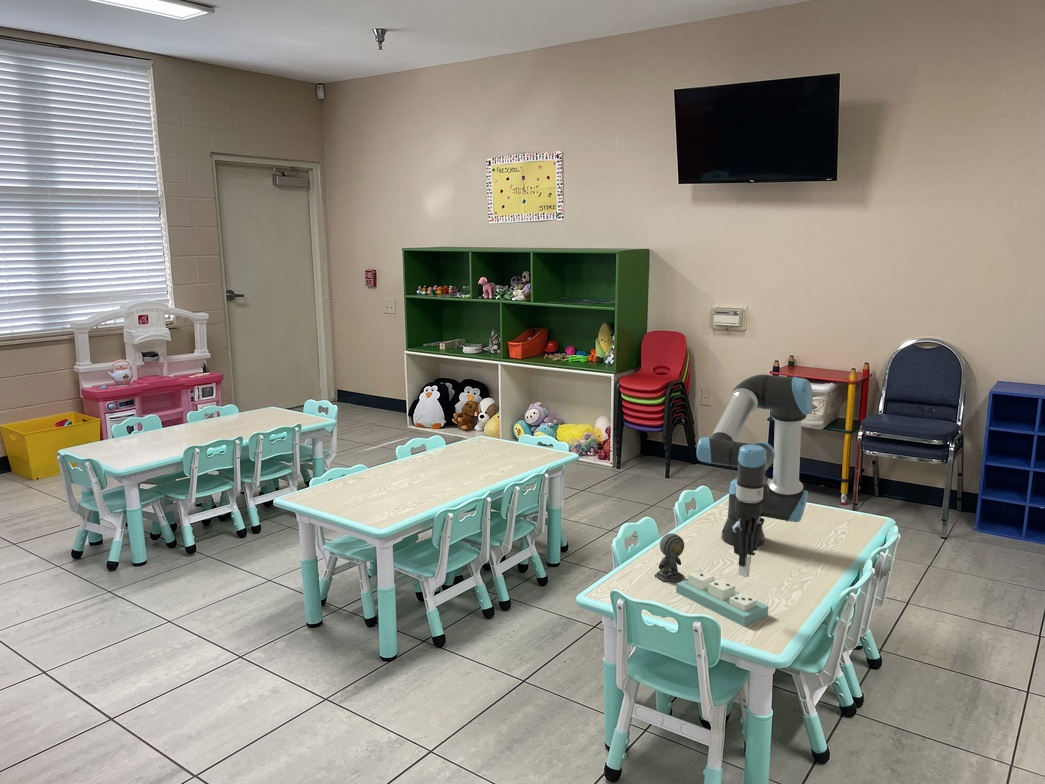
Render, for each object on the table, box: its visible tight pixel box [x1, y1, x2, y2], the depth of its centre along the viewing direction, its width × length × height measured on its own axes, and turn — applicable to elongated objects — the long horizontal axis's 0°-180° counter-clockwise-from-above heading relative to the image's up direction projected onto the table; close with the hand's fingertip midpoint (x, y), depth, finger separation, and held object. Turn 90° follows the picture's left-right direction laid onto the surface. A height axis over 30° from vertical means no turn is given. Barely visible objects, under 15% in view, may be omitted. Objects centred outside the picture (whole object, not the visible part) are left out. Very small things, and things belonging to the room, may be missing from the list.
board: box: [675, 578, 769, 627], centre depth 236 cm, size 26×11×3 cm, turn 36°
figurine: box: [654, 532, 685, 584], centre depth 252 cm, size 9×10×15 cm
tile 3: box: [729, 592, 758, 612], centre depth 229 cm, size 6×6×4 cm
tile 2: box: [708, 578, 736, 601], centre depth 235 cm, size 6×6×4 cm
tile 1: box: [687, 569, 715, 591], centre depth 241 cm, size 6×6×4 cm
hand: (743, 575), depth 227 cm, fingers closed
